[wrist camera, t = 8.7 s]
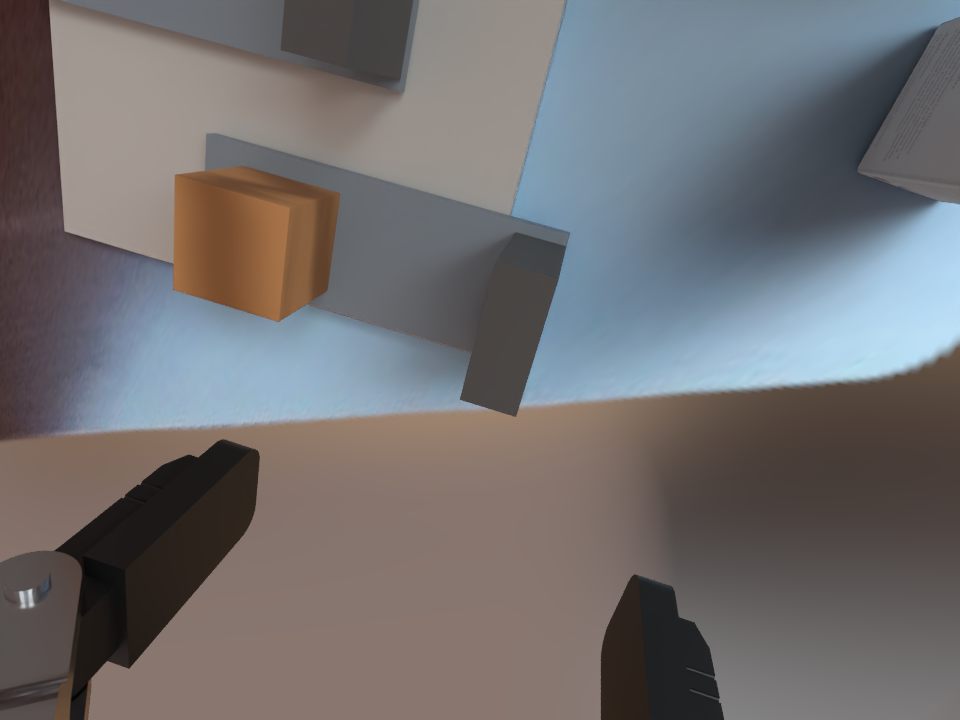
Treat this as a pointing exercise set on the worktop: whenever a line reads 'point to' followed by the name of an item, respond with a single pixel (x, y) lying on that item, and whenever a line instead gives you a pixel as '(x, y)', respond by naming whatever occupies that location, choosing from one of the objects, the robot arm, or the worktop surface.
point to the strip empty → (293, 31)
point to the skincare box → (924, 125)
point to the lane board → (291, 112)
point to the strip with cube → (430, 267)
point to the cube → (252, 239)
